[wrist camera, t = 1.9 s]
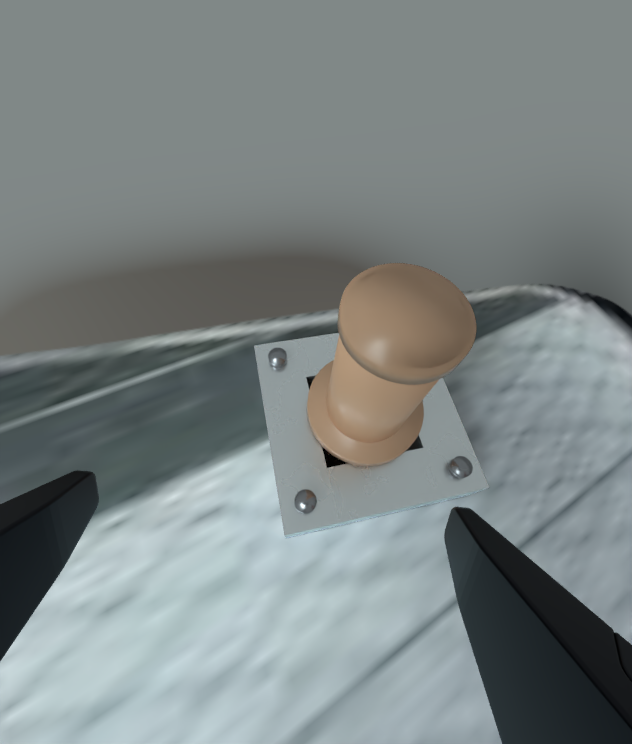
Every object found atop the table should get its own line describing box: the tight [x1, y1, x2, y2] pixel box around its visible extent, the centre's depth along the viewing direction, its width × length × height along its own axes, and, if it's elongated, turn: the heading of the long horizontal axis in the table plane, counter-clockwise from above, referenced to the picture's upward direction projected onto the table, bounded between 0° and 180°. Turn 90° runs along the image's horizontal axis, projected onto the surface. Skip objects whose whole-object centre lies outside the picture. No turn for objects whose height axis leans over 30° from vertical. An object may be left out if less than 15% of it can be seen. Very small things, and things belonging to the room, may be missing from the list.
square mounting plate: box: [254, 333, 490, 538], centre depth 23 cm, size 12×12×4 cm
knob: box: [307, 263, 476, 466], centre depth 19 cm, size 7×7×13 cm
